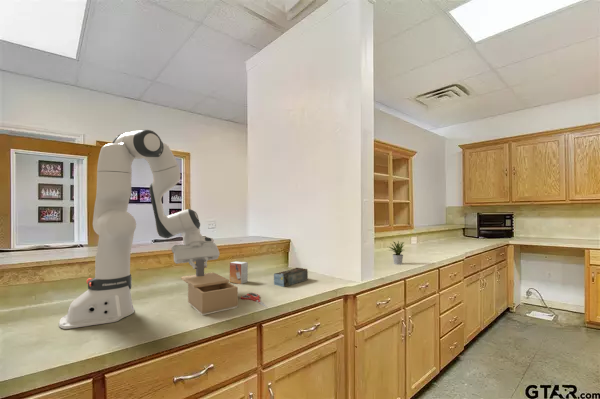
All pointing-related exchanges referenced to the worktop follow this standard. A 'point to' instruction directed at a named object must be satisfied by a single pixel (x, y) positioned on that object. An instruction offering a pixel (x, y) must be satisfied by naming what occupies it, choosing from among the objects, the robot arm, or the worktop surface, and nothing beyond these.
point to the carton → (213, 298)
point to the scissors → (253, 298)
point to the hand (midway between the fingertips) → (200, 267)
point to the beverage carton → (290, 277)
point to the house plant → (397, 253)
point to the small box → (238, 272)
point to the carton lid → (203, 277)
